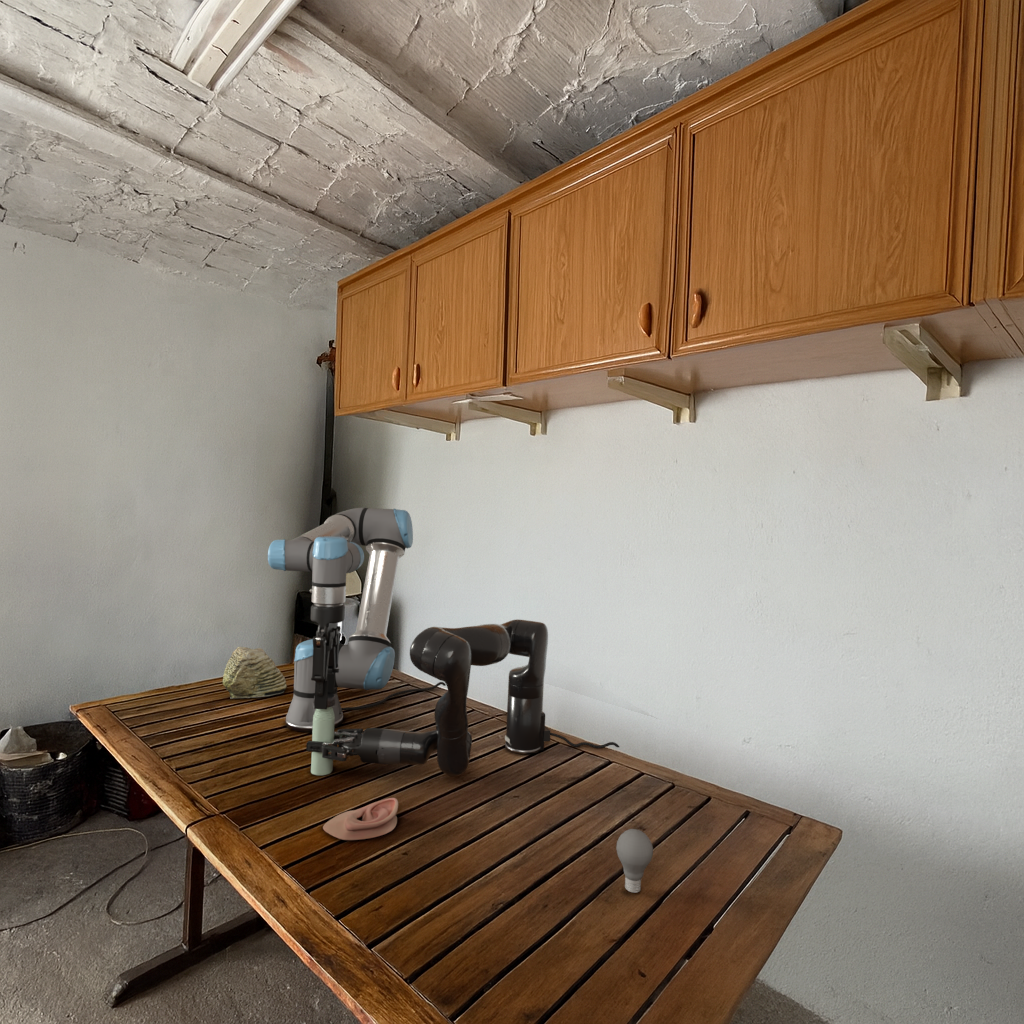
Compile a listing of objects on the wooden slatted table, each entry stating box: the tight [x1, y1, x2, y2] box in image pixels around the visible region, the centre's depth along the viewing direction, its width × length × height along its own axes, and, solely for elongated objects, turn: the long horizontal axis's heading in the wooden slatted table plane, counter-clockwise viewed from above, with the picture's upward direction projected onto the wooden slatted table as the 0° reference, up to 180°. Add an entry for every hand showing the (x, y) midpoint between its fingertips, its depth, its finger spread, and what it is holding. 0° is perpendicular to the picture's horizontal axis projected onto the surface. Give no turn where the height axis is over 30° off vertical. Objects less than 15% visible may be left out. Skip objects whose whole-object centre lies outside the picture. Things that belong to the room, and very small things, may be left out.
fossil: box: [222, 646, 288, 699], centre depth 198 cm, size 9×18×15 cm, turn 132°
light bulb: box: [615, 828, 654, 894], centre depth 106 cm, size 6×6×10 cm
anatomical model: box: [322, 797, 399, 841], centre depth 122 cm, size 13×4×12 cm
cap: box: [314, 693, 335, 707], centre depth 146 cm, size 5×5×2 cm
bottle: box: [310, 707, 335, 776], centre depth 146 cm, size 5×5×17 cm
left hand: (324, 704), depth 146 cm, fingers closed on cap, 5 cm apart
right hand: (311, 741), depth 146 cm, fingers closed on bottle, 4 cm apart
